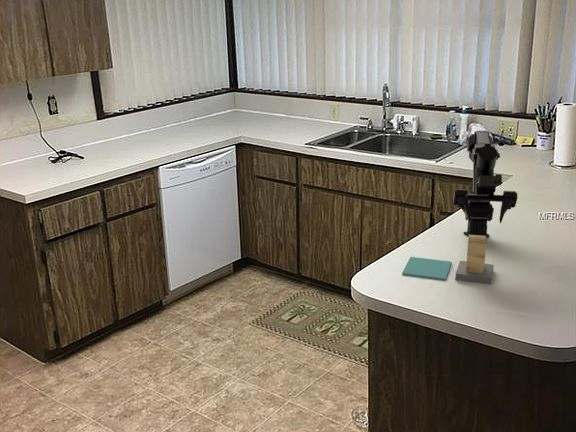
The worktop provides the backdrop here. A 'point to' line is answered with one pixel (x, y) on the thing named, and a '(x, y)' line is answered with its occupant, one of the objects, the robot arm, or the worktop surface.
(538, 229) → the worktop surface
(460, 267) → the charcoal board
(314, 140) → the worktop surface
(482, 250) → the oak block
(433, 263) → the teal mat
